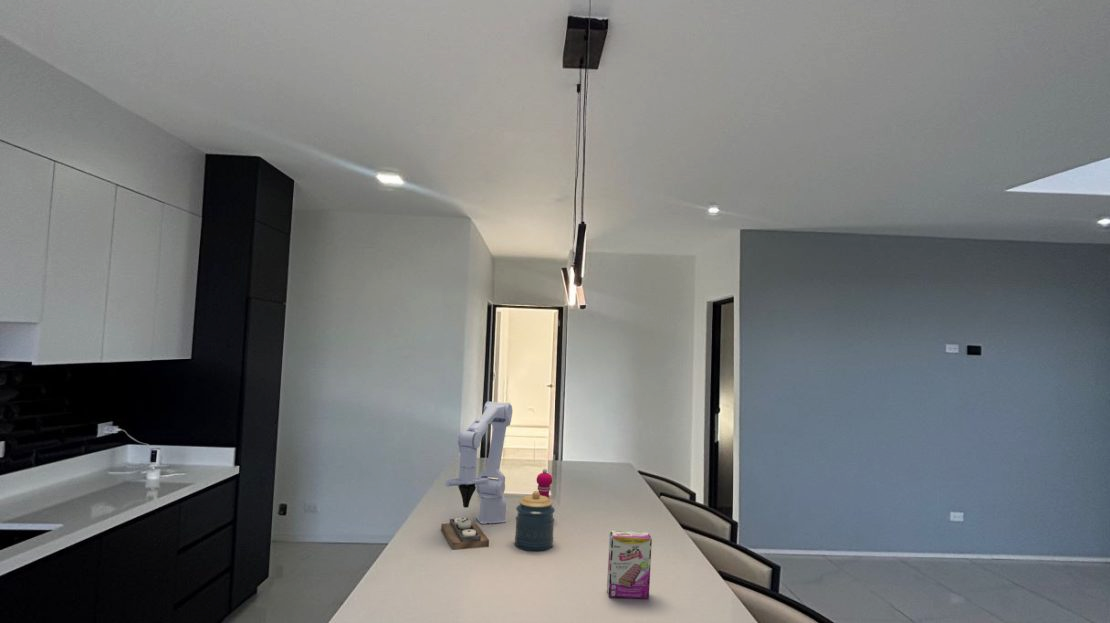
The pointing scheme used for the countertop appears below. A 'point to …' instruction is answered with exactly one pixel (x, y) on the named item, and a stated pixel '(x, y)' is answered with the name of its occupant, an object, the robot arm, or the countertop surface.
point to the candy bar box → (629, 564)
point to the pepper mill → (544, 483)
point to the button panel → (460, 542)
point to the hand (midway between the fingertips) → (465, 506)
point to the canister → (534, 523)
